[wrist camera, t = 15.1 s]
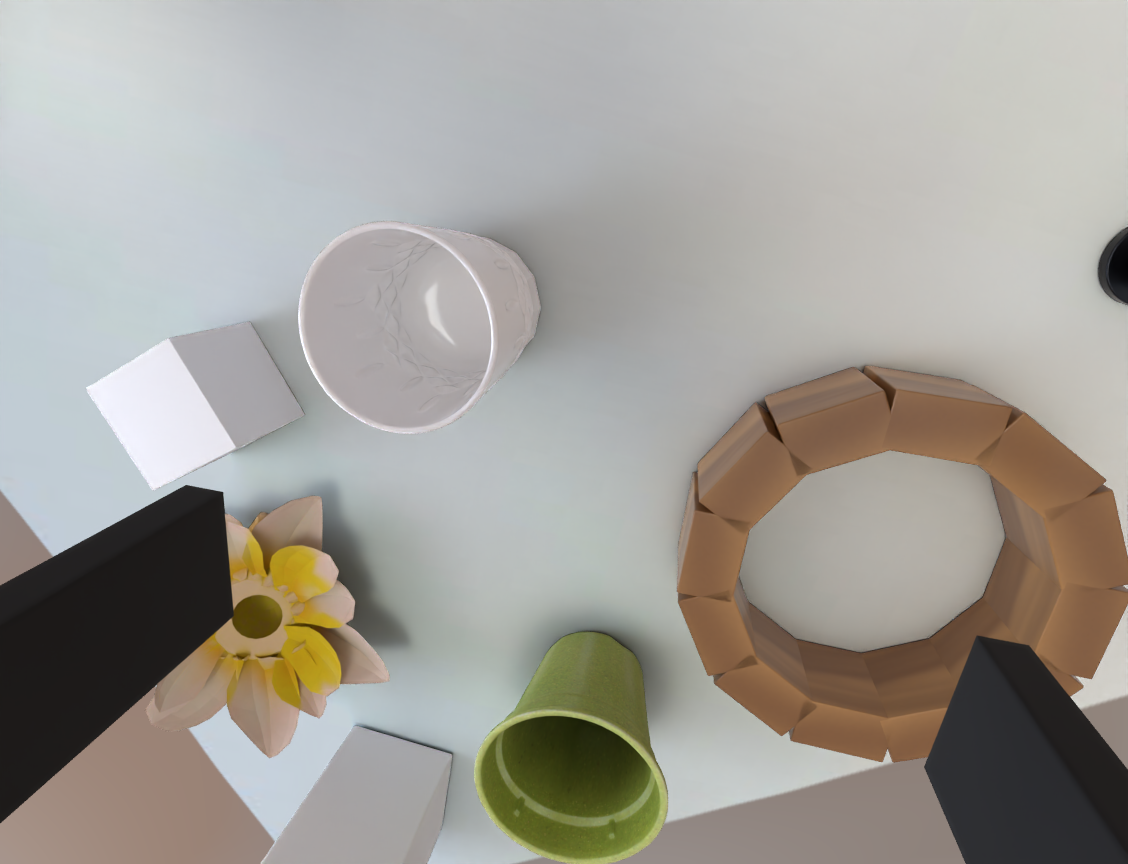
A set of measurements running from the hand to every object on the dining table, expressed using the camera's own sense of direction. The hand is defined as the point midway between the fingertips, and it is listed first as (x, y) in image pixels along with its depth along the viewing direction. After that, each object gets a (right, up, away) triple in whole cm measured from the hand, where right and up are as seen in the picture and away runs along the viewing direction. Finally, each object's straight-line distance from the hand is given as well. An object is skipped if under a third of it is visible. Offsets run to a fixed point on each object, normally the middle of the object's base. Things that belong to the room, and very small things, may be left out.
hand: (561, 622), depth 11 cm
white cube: (-19, +6, +26) cm, 33 cm away
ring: (+16, -2, +22) cm, 27 cm away
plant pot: (+2, -11, +27) cm, 30 cm away
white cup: (-4, +10, +22) cm, 24 cm away
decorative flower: (-17, -7, +30) cm, 35 cm away
